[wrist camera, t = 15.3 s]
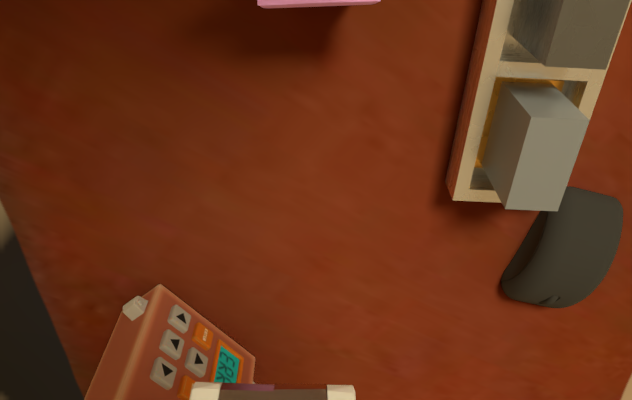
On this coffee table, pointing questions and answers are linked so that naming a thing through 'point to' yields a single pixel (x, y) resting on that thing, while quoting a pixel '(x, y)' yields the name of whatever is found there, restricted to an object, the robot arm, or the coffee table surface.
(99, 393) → the control panel
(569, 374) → the coffee table surface
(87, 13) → the coffee table surface
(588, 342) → the coffee table surface
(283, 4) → the toy chair
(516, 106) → the grey block
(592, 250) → the computer mouse
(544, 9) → the tray
